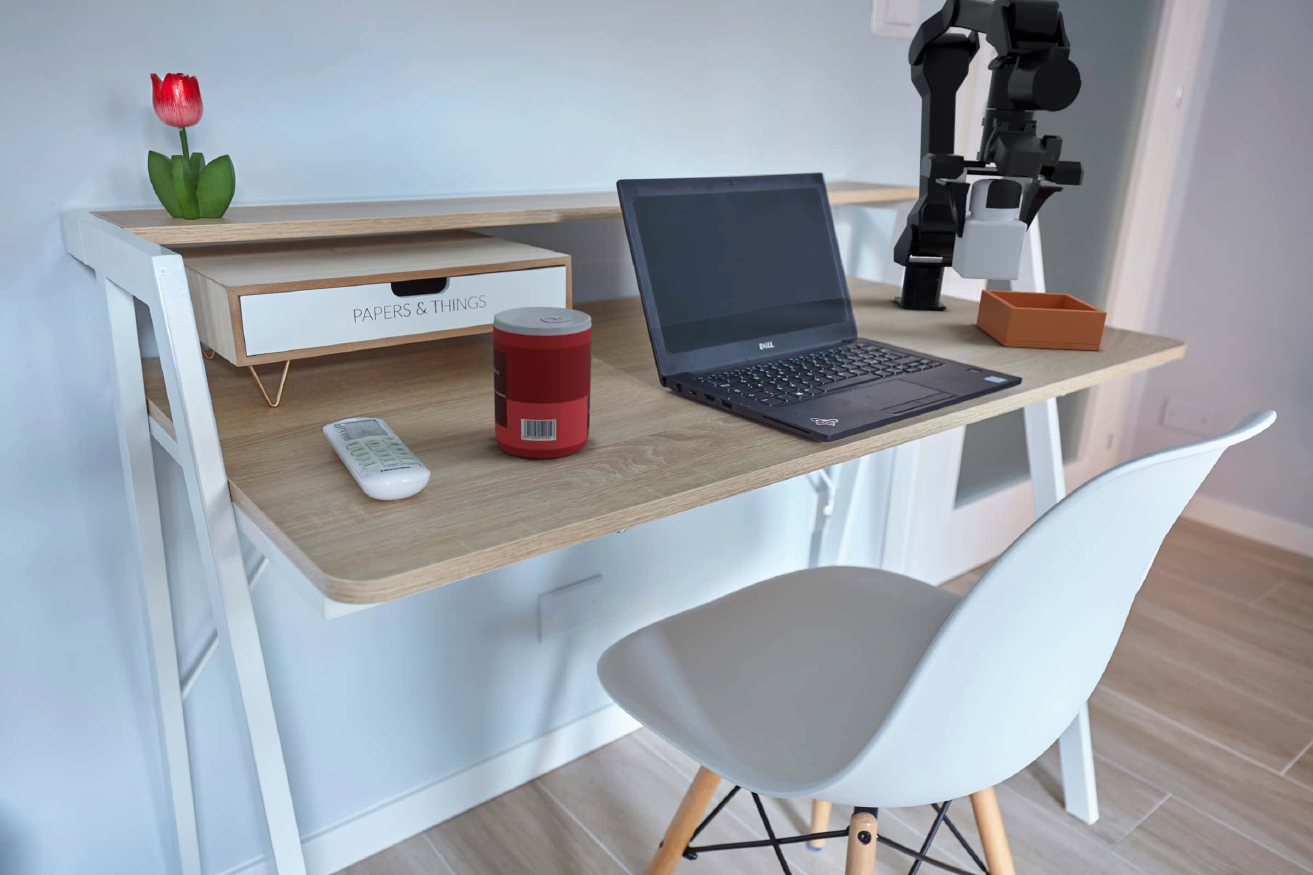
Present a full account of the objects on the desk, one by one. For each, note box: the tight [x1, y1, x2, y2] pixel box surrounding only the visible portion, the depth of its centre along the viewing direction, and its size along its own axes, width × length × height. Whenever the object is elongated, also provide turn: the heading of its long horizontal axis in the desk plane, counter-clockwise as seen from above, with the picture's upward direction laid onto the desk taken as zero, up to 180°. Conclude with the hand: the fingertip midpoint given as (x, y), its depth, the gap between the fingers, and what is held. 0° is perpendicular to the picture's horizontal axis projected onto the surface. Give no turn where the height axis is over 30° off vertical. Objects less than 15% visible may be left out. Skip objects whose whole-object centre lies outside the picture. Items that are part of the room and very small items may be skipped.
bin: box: [975, 289, 1108, 352], centre depth 124 cm, size 12×12×5 cm
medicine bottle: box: [951, 178, 1028, 281], centre depth 119 cm, size 7×7×12 cm
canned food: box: [492, 306, 593, 460], centre depth 77 cm, size 8×8×11 cm
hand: (989, 239), depth 119 cm, fingers closed on medicine bottle, 7 cm apart
